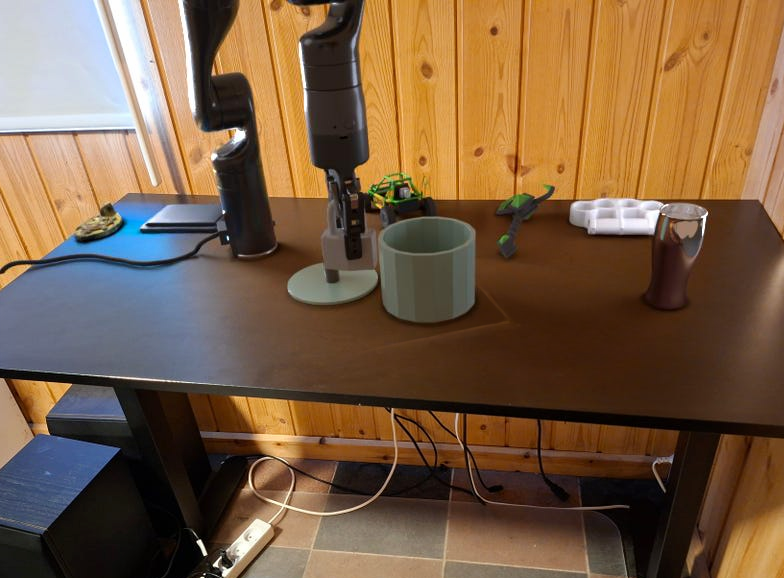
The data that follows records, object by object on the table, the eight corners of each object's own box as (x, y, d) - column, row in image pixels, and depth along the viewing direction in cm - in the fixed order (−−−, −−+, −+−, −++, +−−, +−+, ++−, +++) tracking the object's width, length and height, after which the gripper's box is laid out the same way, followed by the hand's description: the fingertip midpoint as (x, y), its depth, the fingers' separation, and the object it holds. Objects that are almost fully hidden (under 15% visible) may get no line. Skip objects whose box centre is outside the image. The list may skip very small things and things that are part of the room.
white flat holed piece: (571, 238, 123) (567, 211, 135) (670, 239, 119) (657, 210, 131) (573, 222, 121) (569, 195, 133) (673, 222, 117) (660, 195, 129)
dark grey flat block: (135, 224, 141) (166, 200, 153) (137, 232, 142) (168, 207, 154) (218, 224, 137) (244, 199, 149) (220, 233, 138) (245, 207, 150)
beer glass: (687, 292, 102) (707, 203, 94) (689, 313, 97) (711, 220, 89) (641, 288, 105) (657, 200, 96) (641, 308, 99) (657, 217, 91)
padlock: (323, 271, 88) (314, 202, 82) (330, 259, 91) (322, 191, 85) (373, 272, 87) (367, 202, 81) (378, 259, 90) (373, 191, 84)
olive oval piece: (105, 246, 139) (133, 219, 151) (100, 226, 136) (129, 200, 149) (64, 243, 140) (95, 216, 152) (58, 223, 137) (91, 197, 149)
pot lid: (295, 315, 105) (289, 282, 102) (282, 275, 118) (277, 244, 115) (388, 297, 108) (386, 265, 105) (366, 260, 121) (363, 230, 118)
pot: (398, 332, 98) (393, 262, 92) (374, 290, 111) (368, 225, 104) (489, 314, 101) (490, 244, 94) (455, 274, 113) (455, 210, 107)
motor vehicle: (404, 198, 148) (402, 153, 142) (442, 225, 133) (441, 175, 127) (358, 208, 145) (354, 162, 139) (392, 237, 129) (388, 186, 124)
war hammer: (530, 227, 111) (553, 166, 133) (466, 248, 118) (497, 187, 140) (542, 256, 114) (563, 191, 136) (478, 275, 121) (507, 210, 143)
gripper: (297, 115, 83) (314, 235, 93) (317, 142, 71) (333, 277, 81) (353, 107, 84) (363, 227, 94) (381, 133, 73) (389, 267, 82)
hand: (349, 250), depth 88 cm, fingers closed on padlock, 4 cm apart
